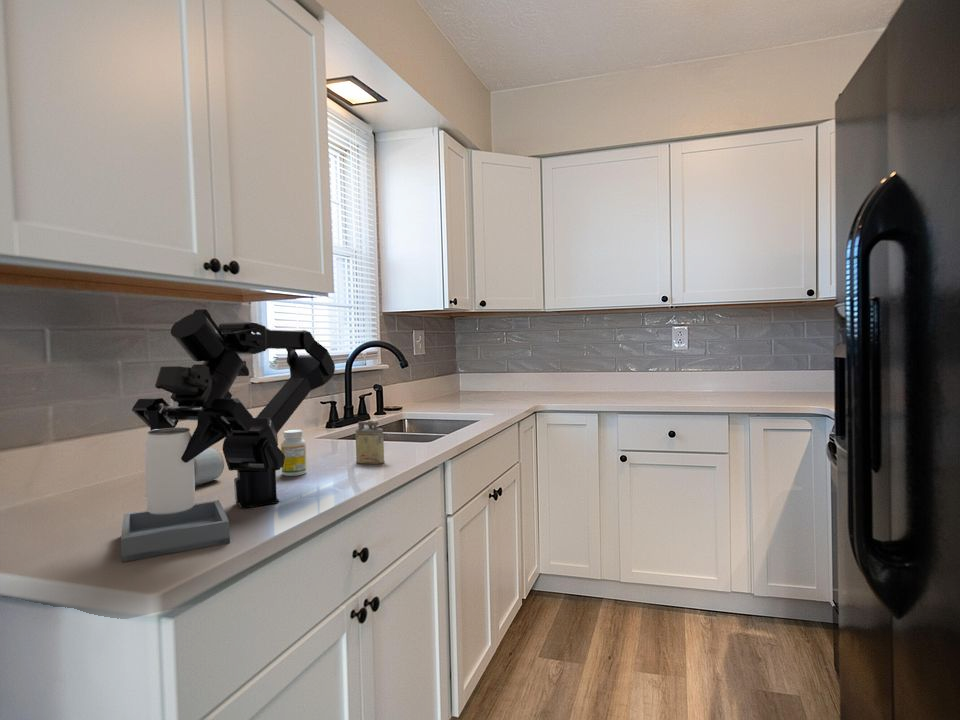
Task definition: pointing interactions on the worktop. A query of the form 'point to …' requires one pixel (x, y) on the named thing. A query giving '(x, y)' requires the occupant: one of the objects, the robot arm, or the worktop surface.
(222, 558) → the worktop surface
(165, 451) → the can
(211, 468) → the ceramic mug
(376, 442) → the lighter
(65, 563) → the worktop surface
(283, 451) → the supplement bottle
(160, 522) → the tray
